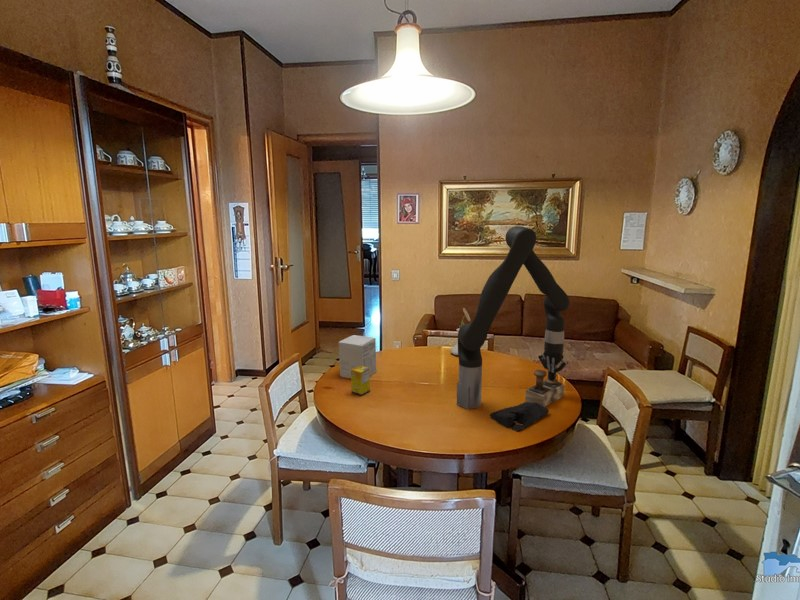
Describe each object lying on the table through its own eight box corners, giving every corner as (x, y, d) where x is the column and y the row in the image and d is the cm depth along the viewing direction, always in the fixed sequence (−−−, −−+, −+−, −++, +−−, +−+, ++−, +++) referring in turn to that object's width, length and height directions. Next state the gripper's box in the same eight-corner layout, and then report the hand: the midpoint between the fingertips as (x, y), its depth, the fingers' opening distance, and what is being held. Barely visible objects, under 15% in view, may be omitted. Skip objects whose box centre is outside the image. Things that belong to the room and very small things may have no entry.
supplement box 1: (377, 371, 213) (376, 337, 210) (362, 381, 202) (361, 345, 198) (354, 367, 219) (353, 334, 216) (339, 376, 208) (337, 341, 204)
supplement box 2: (360, 388, 194) (359, 365, 192) (370, 391, 191) (369, 367, 188) (351, 392, 190) (350, 369, 187) (361, 396, 186) (360, 372, 184)
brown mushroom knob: (552, 397, 180) (553, 383, 179) (542, 394, 184) (543, 379, 183) (559, 394, 183) (560, 380, 182) (548, 391, 187) (549, 376, 186)
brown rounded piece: (541, 390, 174) (542, 375, 172) (530, 386, 177) (531, 371, 176) (548, 387, 177) (548, 372, 175) (537, 383, 180) (538, 368, 179)
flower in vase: (465, 358, 229) (466, 312, 224) (446, 355, 235) (446, 310, 230) (475, 351, 240) (476, 307, 234) (457, 348, 246) (457, 305, 240)
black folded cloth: (555, 417, 166) (556, 406, 165) (516, 434, 154) (516, 422, 153) (524, 403, 178) (524, 392, 177) (485, 417, 167) (485, 406, 166)
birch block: (542, 407, 173) (543, 394, 172) (525, 401, 179) (525, 387, 178) (563, 396, 183) (564, 383, 182) (546, 390, 189) (547, 377, 188)
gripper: (534, 338, 181) (532, 377, 185) (564, 346, 171) (561, 387, 175) (545, 335, 186) (542, 373, 190) (574, 342, 176) (571, 382, 180)
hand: (551, 379), depth 182 cm, fingers closed
